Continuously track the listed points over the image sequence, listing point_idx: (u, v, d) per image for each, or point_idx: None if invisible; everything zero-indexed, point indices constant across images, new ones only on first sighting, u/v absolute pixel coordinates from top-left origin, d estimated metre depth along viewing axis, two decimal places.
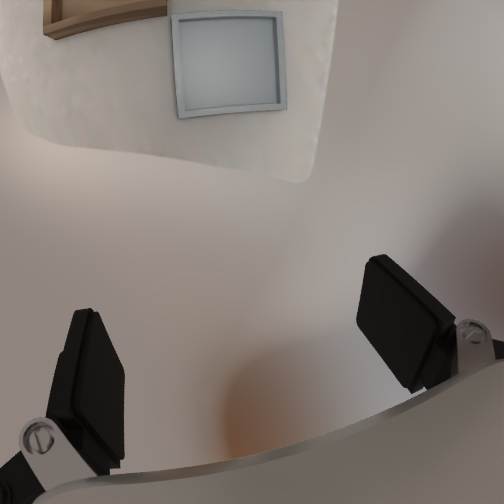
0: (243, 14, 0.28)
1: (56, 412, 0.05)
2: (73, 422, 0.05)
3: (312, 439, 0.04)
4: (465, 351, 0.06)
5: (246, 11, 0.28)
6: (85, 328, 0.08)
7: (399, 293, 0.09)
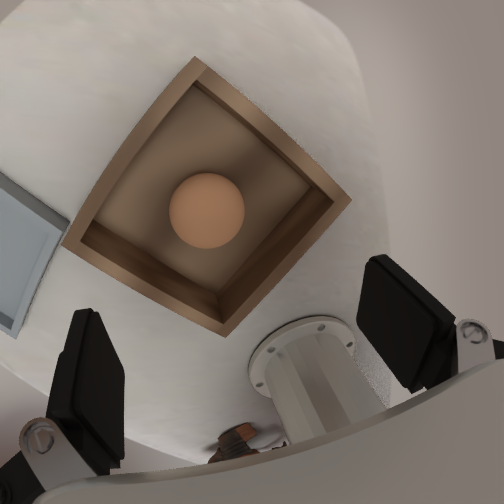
0: (23, 303, 0.21)
1: (56, 412, 0.05)
2: (73, 422, 0.05)
3: (312, 439, 0.04)
4: (465, 351, 0.06)
5: (25, 308, 0.21)
6: (85, 328, 0.08)
7: (399, 293, 0.09)
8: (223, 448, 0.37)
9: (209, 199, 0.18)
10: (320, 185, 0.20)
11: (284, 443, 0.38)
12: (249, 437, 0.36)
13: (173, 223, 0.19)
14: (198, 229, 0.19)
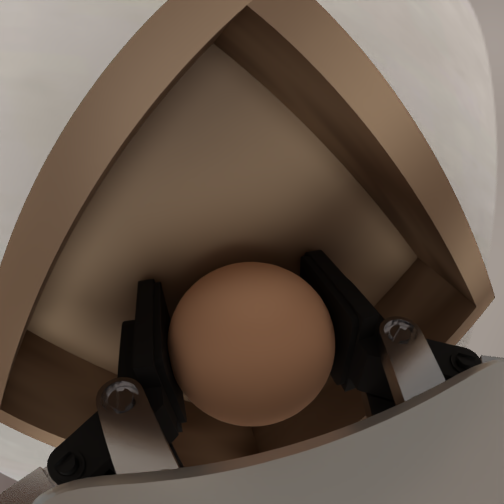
0: None
1: (139, 369, 0.07)
2: (154, 379, 0.07)
3: (312, 439, 0.04)
4: (397, 355, 0.07)
5: None
6: (153, 295, 0.09)
7: (325, 288, 0.09)
8: None
9: (273, 362, 0.07)
10: (470, 286, 0.09)
11: None
12: None
13: (181, 387, 0.08)
14: (244, 418, 0.07)
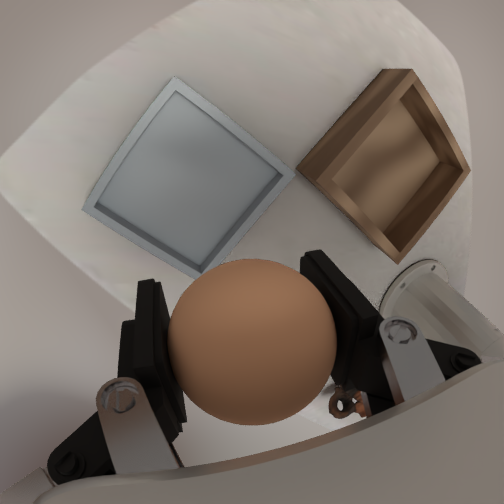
0: (230, 242, 0.28)
1: (139, 369, 0.07)
2: (154, 379, 0.07)
3: (312, 439, 0.04)
4: (397, 355, 0.07)
5: (231, 248, 0.28)
6: (153, 295, 0.09)
7: (325, 288, 0.09)
8: None
9: (273, 359, 0.07)
10: (458, 159, 0.27)
11: None
12: None
13: (180, 386, 0.08)
14: (244, 416, 0.07)
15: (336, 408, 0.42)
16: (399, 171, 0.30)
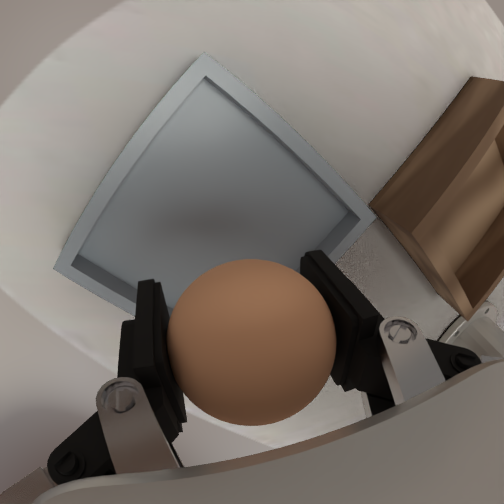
0: None
1: (139, 369, 0.07)
2: (154, 379, 0.07)
3: (312, 439, 0.04)
4: (397, 355, 0.07)
5: None
6: (153, 295, 0.09)
7: (325, 288, 0.09)
8: None
9: (273, 359, 0.07)
10: None
11: None
12: None
13: (180, 386, 0.08)
14: (243, 416, 0.07)
15: None
16: (477, 207, 0.22)
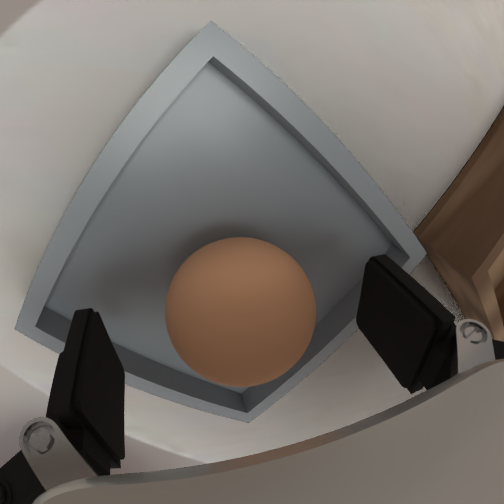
0: (303, 370, 0.15)
1: (56, 412, 0.05)
2: (73, 422, 0.05)
3: (312, 439, 0.04)
4: (465, 351, 0.06)
5: (302, 377, 0.15)
6: (85, 328, 0.08)
7: (399, 293, 0.09)
8: None
9: (255, 318, 0.08)
10: None
11: None
12: None
13: (176, 348, 0.09)
14: (231, 373, 0.08)
15: None
16: None
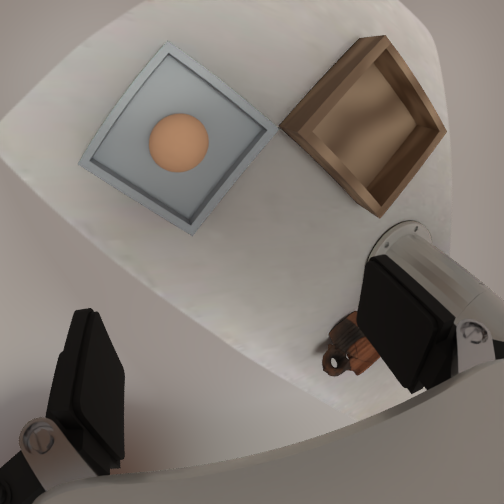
0: (218, 193, 0.29)
1: (56, 412, 0.05)
2: (73, 422, 0.05)
3: (312, 439, 0.04)
4: (465, 351, 0.06)
5: (219, 199, 0.29)
6: (85, 328, 0.08)
7: (399, 293, 0.09)
8: (337, 340, 0.45)
9: (178, 128, 0.22)
10: (434, 120, 0.28)
11: None
12: None
13: (151, 151, 0.23)
14: (169, 151, 0.22)
15: (330, 365, 0.43)
16: (377, 132, 0.32)
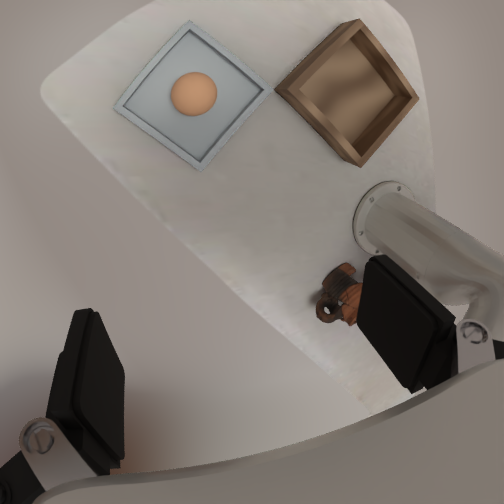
0: (224, 137, 0.34)
1: (56, 412, 0.05)
2: (73, 422, 0.05)
3: (312, 439, 0.04)
4: (465, 351, 0.06)
5: (224, 142, 0.35)
6: (85, 328, 0.08)
7: (399, 293, 0.09)
8: (329, 288, 0.49)
9: (194, 80, 0.28)
10: (406, 88, 0.34)
11: None
12: (351, 272, 0.49)
13: (172, 97, 0.29)
14: (187, 96, 0.28)
15: (323, 310, 0.48)
16: (358, 99, 0.37)
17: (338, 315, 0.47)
